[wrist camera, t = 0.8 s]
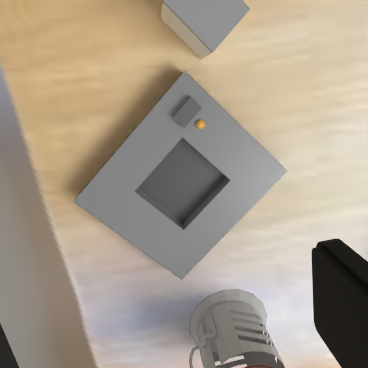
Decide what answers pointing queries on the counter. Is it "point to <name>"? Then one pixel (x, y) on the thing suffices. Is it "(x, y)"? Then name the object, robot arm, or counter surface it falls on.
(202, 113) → the socket plate
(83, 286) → the counter surface
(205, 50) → the plug
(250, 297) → the french press
